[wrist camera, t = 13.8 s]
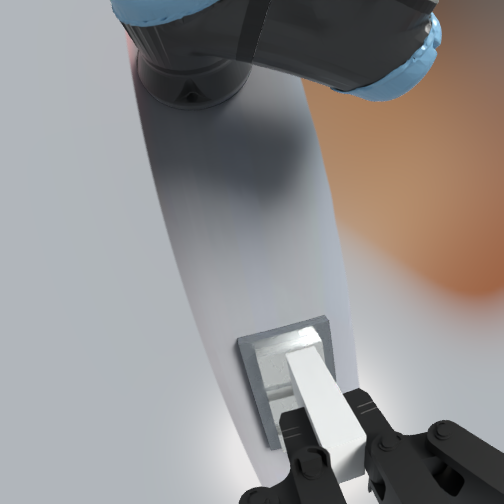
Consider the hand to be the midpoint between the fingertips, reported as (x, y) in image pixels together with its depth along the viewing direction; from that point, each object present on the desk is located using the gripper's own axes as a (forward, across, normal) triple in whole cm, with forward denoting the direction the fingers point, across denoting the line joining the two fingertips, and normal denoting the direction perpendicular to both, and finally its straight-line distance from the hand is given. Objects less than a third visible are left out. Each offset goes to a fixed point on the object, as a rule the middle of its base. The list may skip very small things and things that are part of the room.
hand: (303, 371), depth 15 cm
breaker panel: (+26, +2, -23) cm, 35 cm away
